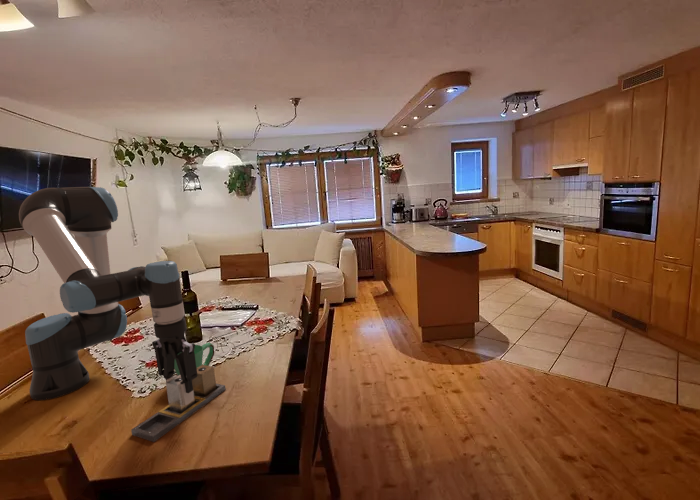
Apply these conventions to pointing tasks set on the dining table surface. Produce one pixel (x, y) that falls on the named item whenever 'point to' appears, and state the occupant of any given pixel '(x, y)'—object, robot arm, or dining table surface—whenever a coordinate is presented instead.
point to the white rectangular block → (177, 395)
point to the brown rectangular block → (204, 381)
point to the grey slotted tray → (171, 417)
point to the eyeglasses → (230, 342)
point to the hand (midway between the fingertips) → (181, 400)
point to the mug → (200, 356)
